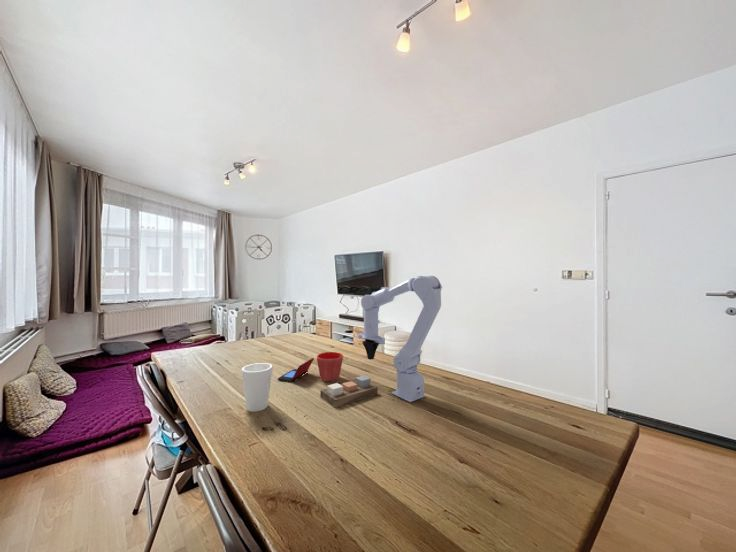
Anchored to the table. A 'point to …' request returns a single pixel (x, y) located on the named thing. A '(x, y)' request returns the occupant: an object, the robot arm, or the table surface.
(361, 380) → the slate key
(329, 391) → the ivory key
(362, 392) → the key frame
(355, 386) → the terracotta key
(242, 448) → the table surface
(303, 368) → the handheld game console
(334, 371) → the flower pot
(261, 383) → the foam cup
